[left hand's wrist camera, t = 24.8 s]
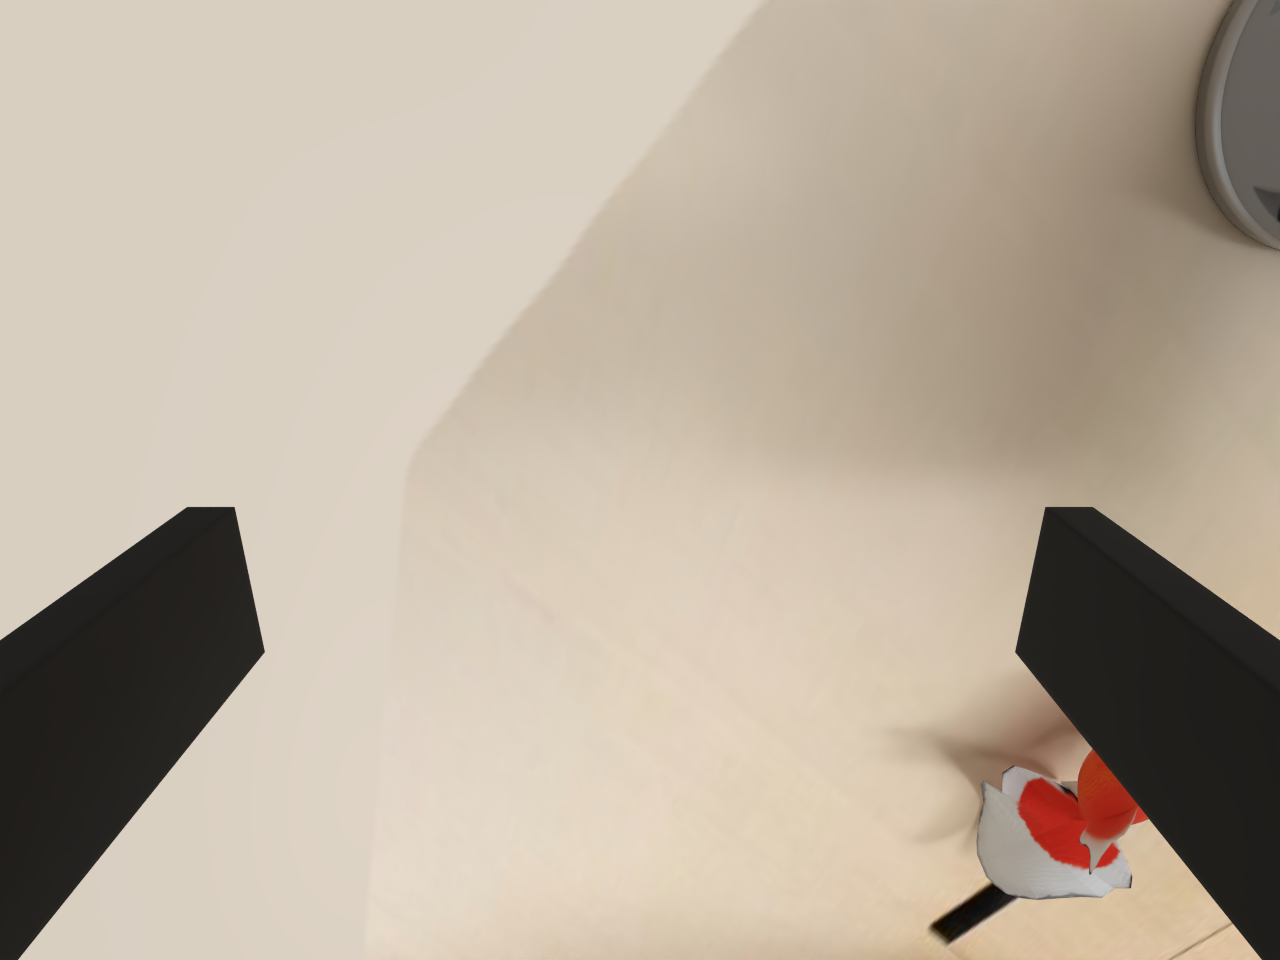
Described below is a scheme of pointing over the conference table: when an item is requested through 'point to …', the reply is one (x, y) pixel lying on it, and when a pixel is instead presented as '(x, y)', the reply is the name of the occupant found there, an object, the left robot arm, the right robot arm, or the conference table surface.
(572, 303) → the conference table surface
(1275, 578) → the conference table surface
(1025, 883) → the fish
